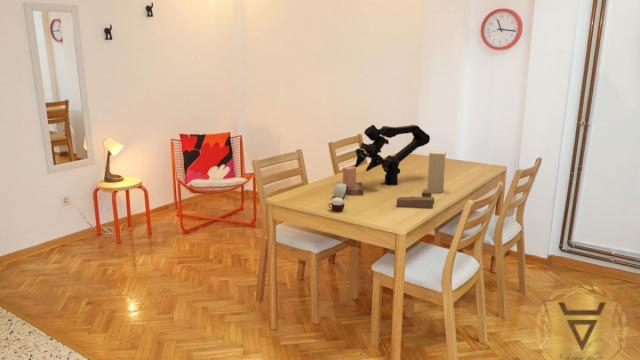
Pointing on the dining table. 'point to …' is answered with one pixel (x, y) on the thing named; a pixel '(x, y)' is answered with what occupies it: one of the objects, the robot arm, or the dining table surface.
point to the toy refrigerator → (436, 171)
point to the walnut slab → (355, 190)
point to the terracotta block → (349, 176)
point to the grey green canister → (339, 190)
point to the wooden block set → (417, 201)
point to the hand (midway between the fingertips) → (360, 168)
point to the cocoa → (338, 203)
